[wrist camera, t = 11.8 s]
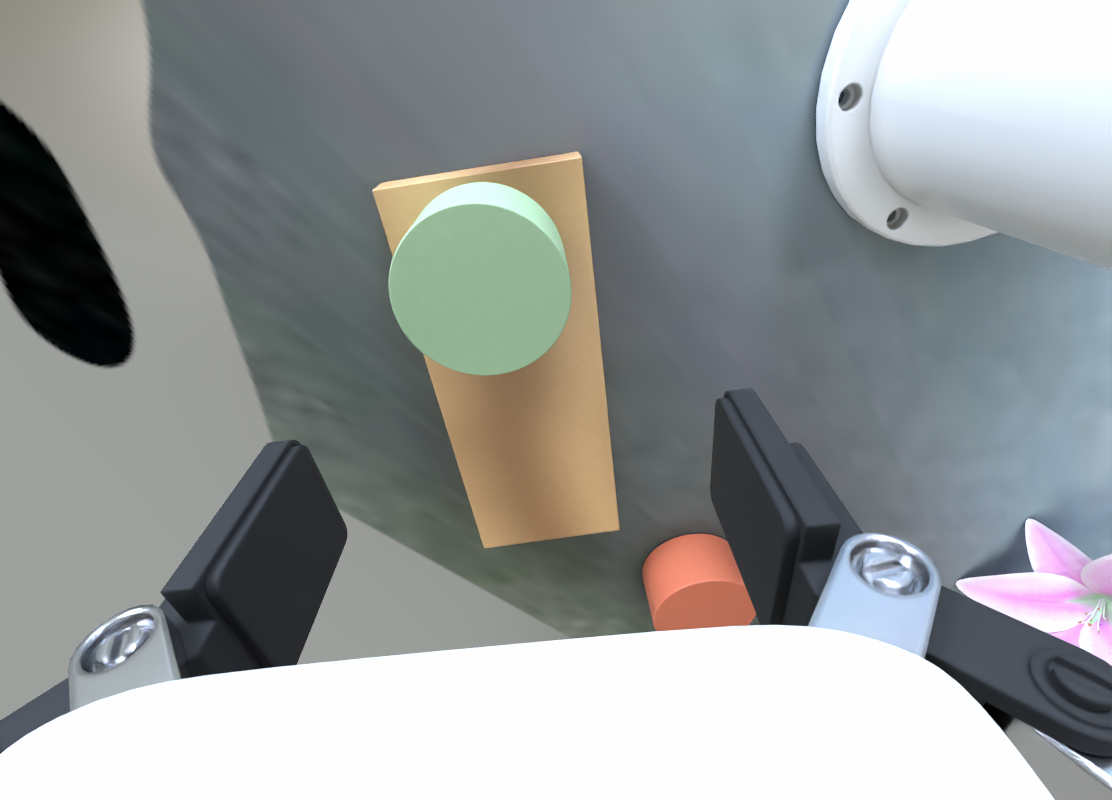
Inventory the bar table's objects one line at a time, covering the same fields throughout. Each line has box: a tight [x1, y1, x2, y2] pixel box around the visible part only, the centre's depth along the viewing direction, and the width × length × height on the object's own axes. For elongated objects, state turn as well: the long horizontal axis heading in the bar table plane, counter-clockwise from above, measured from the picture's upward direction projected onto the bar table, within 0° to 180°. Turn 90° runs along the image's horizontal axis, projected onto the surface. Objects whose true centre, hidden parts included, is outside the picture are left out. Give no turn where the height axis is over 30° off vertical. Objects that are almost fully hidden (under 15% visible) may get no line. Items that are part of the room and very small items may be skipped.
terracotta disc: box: [642, 534, 756, 631], centre depth 33 cm, size 6×6×4 cm
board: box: [373, 152, 619, 548], centre depth 25 cm, size 8×20×2 cm, turn 8°
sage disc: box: [389, 182, 572, 376], centre depth 20 cm, size 6×6×4 cm
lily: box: [956, 518, 1112, 666], centre depth 33 cm, size 12×12×10 cm
